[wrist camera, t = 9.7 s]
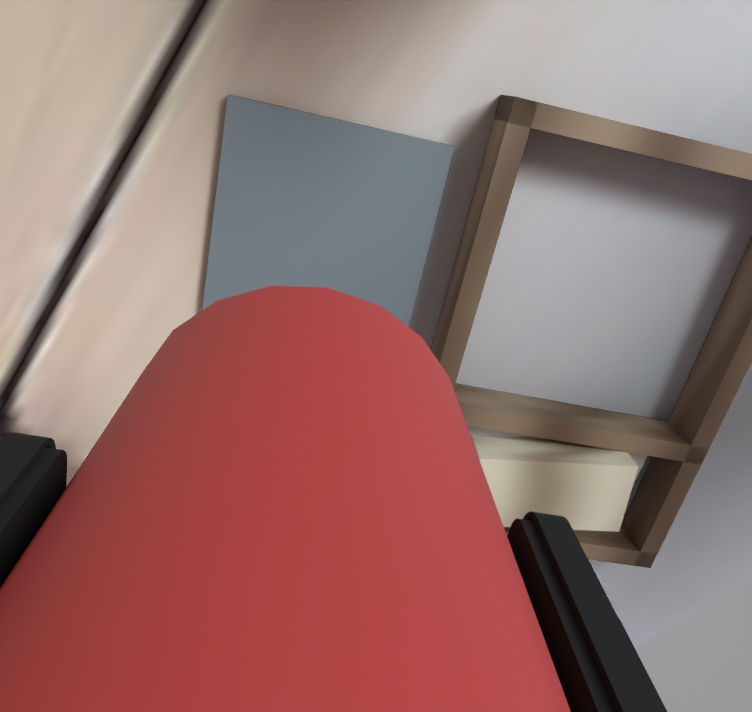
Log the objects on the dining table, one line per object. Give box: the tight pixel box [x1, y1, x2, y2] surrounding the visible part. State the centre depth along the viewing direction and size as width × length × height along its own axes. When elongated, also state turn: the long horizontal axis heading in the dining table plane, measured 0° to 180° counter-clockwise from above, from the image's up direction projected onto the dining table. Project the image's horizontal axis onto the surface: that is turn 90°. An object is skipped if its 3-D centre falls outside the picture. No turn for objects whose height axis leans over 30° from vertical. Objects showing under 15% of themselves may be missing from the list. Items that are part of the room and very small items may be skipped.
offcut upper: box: [471, 436, 638, 532], centre depth 33 cm, size 8×4×2 cm, turn 85°
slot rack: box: [431, 95, 752, 568], centre depth 32 cm, size 15×22×2 cm
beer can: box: [0, 286, 571, 712], centre depth 8 cm, size 7×7×12 cm
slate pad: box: [202, 95, 455, 327], centre depth 30 cm, size 10×10×1 cm
